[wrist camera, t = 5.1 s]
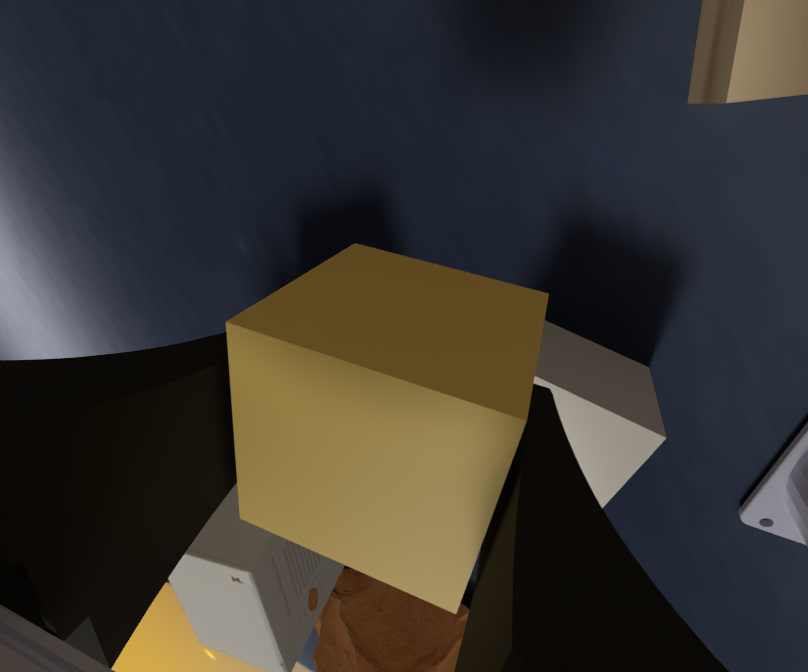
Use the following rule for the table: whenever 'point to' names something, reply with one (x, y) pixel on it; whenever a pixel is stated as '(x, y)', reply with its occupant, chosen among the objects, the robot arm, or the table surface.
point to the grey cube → (600, 407)
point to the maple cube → (750, 51)
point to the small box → (252, 589)
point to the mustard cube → (383, 413)
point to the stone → (385, 629)
